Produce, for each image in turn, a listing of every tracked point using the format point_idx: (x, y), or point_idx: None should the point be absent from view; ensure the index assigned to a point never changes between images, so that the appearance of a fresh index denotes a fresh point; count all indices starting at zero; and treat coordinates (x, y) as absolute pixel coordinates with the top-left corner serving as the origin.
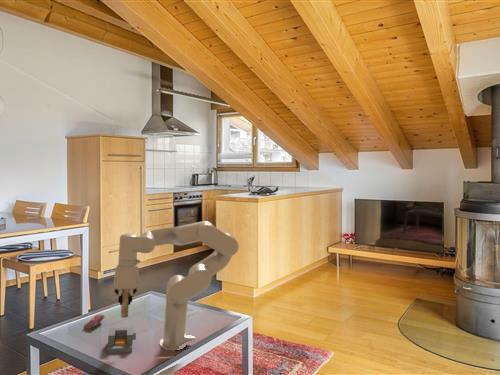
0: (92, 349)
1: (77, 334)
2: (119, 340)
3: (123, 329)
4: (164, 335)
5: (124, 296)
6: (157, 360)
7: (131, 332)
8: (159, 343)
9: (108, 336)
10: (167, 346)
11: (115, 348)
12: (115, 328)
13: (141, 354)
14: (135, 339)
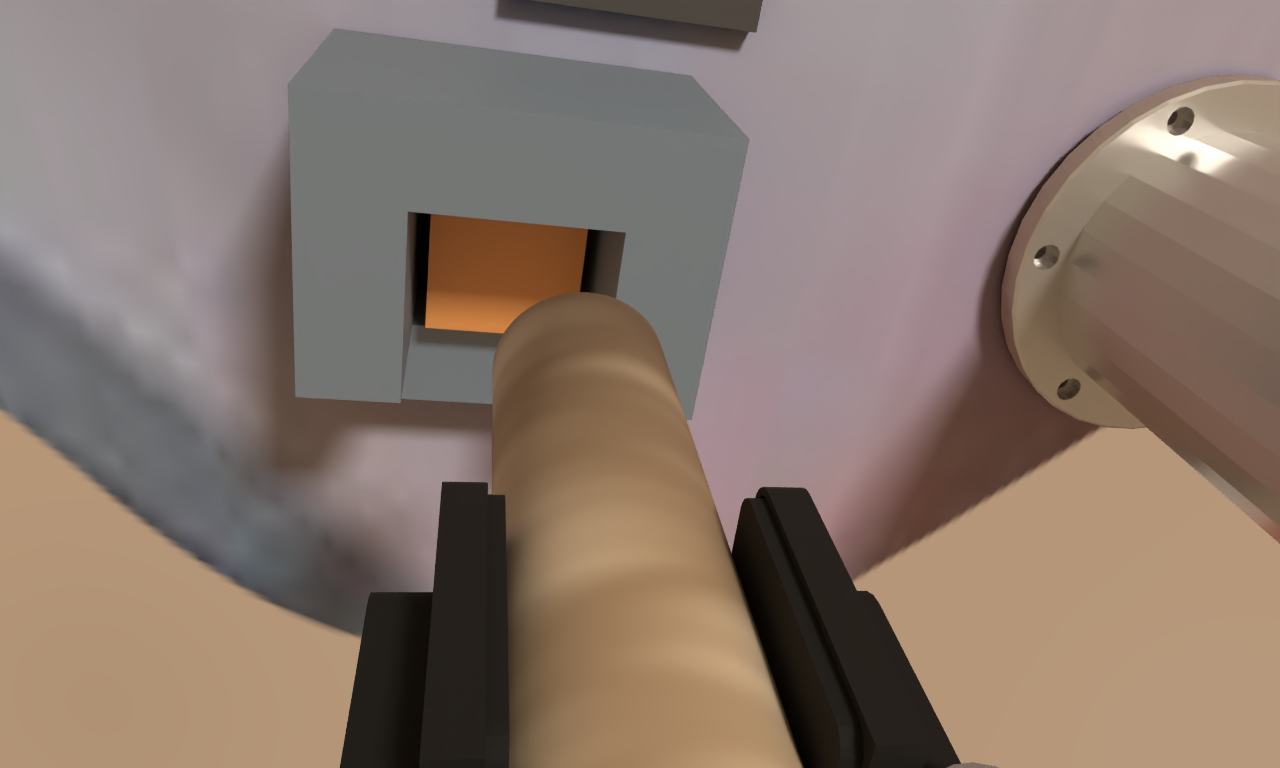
0: (106, 174)
1: None
2: (491, 255)
3: (560, 197)
4: (1129, 356)
5: None
6: (866, 547)
7: (681, 341)
8: (1021, 257)
9: (299, 392)
10: (1072, 362)
11: (434, 399)
12: (409, 122)
13: (742, 413)
14: (753, 23)
